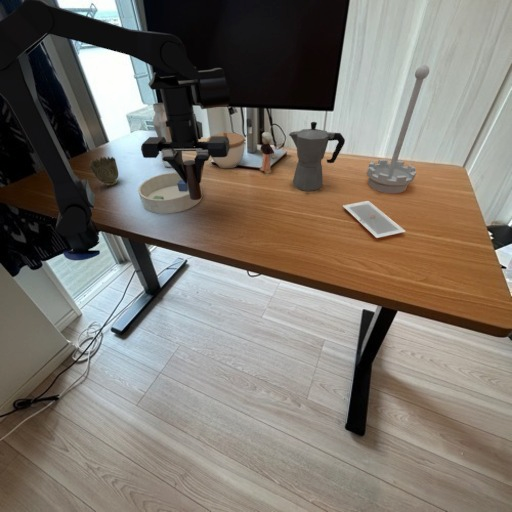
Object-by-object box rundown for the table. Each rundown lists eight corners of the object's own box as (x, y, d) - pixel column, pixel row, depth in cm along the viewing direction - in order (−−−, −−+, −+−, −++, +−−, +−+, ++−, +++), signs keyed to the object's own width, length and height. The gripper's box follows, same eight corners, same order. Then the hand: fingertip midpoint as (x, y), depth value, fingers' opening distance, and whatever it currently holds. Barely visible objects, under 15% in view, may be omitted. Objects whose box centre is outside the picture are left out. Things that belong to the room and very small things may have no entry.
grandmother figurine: (254, 170, 93) (253, 131, 84) (262, 166, 95) (262, 128, 86) (270, 176, 89) (271, 136, 80) (278, 172, 91) (279, 133, 82)
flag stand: (412, 197, 76) (463, 69, 56) (363, 191, 79) (395, 68, 59) (408, 178, 85) (451, 61, 65) (365, 173, 88) (393, 61, 69)
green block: (161, 209, 74) (158, 201, 72) (153, 208, 75) (150, 200, 73) (165, 204, 76) (163, 196, 74) (157, 203, 76) (155, 195, 75)
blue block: (186, 191, 81) (185, 183, 80) (178, 191, 82) (177, 183, 80) (189, 187, 83) (187, 180, 81) (181, 187, 83) (180, 179, 82)
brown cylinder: (200, 200, 67) (194, 165, 61) (188, 200, 67) (181, 165, 61) (203, 194, 69) (197, 160, 63) (191, 194, 69) (184, 160, 64)
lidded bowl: (223, 175, 90) (219, 141, 83) (204, 164, 98) (199, 132, 91) (252, 164, 96) (251, 132, 89) (232, 155, 104) (229, 124, 96)
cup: (101, 182, 89) (90, 158, 84) (124, 178, 91) (115, 154, 85) (98, 192, 84) (86, 167, 78) (123, 188, 85) (113, 163, 80)
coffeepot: (283, 188, 82) (285, 125, 70) (289, 175, 89) (293, 116, 77) (334, 195, 78) (346, 129, 66) (337, 180, 85) (349, 119, 73)
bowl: (195, 215, 72) (192, 200, 69) (133, 214, 73) (127, 200, 70) (207, 185, 85) (205, 172, 82) (154, 185, 86) (150, 172, 83)
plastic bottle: (162, 164, 99) (146, 103, 86) (181, 161, 101) (168, 100, 87) (164, 171, 94) (148, 107, 81) (184, 167, 96) (170, 105, 83)
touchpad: (367, 204, 74) (369, 197, 72) (404, 235, 63) (407, 227, 62) (341, 209, 72) (343, 201, 71) (375, 241, 61) (377, 234, 60)
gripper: (229, 102, 61) (234, 168, 71) (149, 103, 62) (165, 169, 72) (222, 115, 52) (229, 188, 63) (129, 116, 53) (151, 188, 64)
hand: (193, 182), depth 66 cm, fingers closed on brown cylinder, 3 cm apart
